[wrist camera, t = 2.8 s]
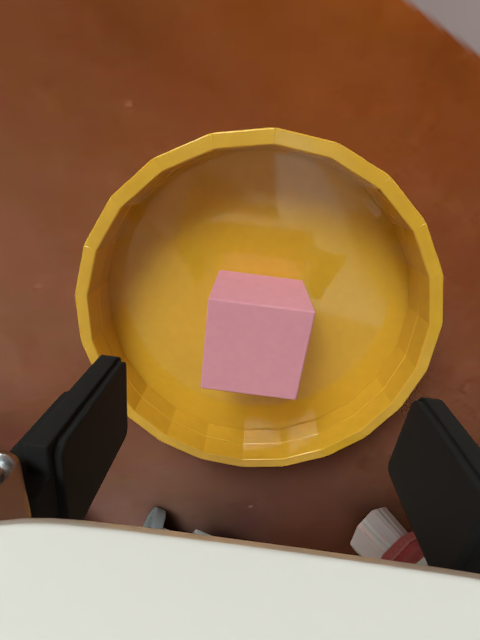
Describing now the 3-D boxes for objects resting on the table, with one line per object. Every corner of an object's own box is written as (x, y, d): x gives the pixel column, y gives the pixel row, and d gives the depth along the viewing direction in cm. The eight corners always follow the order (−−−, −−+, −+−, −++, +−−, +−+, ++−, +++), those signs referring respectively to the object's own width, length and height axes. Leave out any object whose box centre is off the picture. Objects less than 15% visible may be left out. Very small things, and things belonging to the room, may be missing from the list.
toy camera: (487, 397, 28) (285, 521, 20) (649, 472, 20) (431, 720, 12) (465, 495, 32) (292, 630, 24) (591, 586, 25) (402, 824, 17)
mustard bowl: (51, 334, 20) (19, 360, 18) (220, 42, 14) (211, 11, 12) (276, 471, 24) (278, 510, 21) (487, 282, 18) (528, 301, 15)
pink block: (212, 343, 20) (200, 388, 16) (219, 269, 18) (207, 298, 14) (288, 353, 20) (296, 400, 16) (302, 280, 18) (316, 312, 14)
